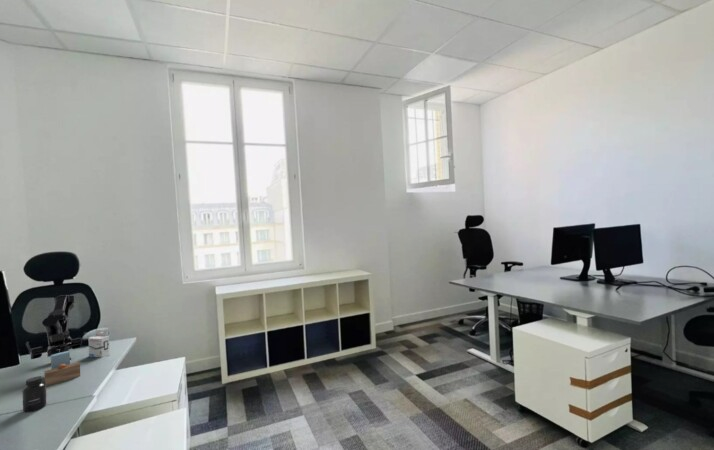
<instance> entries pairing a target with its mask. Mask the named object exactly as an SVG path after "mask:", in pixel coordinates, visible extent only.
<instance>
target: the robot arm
mask: <svg viewBox="0 0 714 450" xmlns="http://www.w3.org/2000/svg"><path fill="white" fill-rule="evenodd" d="M54 299H55V300H54V308H53V310H52V311H51V312H49V313H48V315H47V316H46V318H44V319H43V321H42V323H41V325H42V326H43V328H44V331H45V332H46V335H47V336H46V337H47V342H48V346H47V347H45V348H43V345H42V346H38V347H33V348H31V349H30V355H29V356H30V360H35V359H39V358H41V357H42V356H43V354H46V353H47V357H48V358H49V357H50V358H51V355H53V354H57V353H61V352H65V351H69V352H70V350H76V349H80V348H82V345H83V339H82V338H81V337H76V338H72V337H71V336H70V331H69V330H68V329H69V321H70V313H71V310H72V309H73V308H74V307H75V304H76V302H77V299H76V296H75V295H70V294H62V295H58V296H56V297H55V298H54ZM71 360H72V358H71V357H70V361H71Z"/></svg>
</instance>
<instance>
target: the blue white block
mask: <svg viewBox="0 0 714 450" xmlns="http://www.w3.org/2000/svg"><path fill="white" fill-rule="evenodd" d="M70 355H71V354H70V350H69V351H65V352H61V353H57V354H53V355H51V357H50V369H54V368H58V367H59V365H61V364H66V365H69V364H71V360H70V358H71V356H70Z"/></svg>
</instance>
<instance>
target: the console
mask: <svg viewBox="0 0 714 450" xmlns="http://www.w3.org/2000/svg"><path fill="white" fill-rule="evenodd" d="M43 372H44V377H42V378H43V383H45V384H46V387H48V386H51V385H55V384H59V383H61V382H65V381H68V380H72V379H75V378H78V377H81V363H80V362H79V361H75V362H73V363H70V364H69V365H66V364H61V365H59V367H58V368H54V369H51V368H50V369H47V370H45V371H43Z"/></svg>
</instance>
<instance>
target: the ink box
mask: <svg viewBox="0 0 714 450" xmlns="http://www.w3.org/2000/svg"><path fill="white" fill-rule="evenodd" d="M87 340H88V357H89V358H103V357H104V358H105V357H110V356H111V355H110V336H109V330H108V329H96V330H95V335H93V336H90V337H89V338H88V339H87Z"/></svg>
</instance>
